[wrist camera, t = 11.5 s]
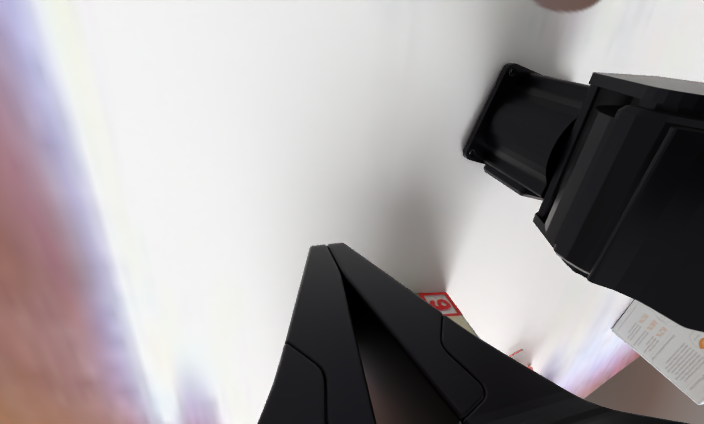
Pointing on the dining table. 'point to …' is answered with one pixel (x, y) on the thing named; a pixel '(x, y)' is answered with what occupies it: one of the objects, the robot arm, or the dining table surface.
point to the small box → (665, 347)
